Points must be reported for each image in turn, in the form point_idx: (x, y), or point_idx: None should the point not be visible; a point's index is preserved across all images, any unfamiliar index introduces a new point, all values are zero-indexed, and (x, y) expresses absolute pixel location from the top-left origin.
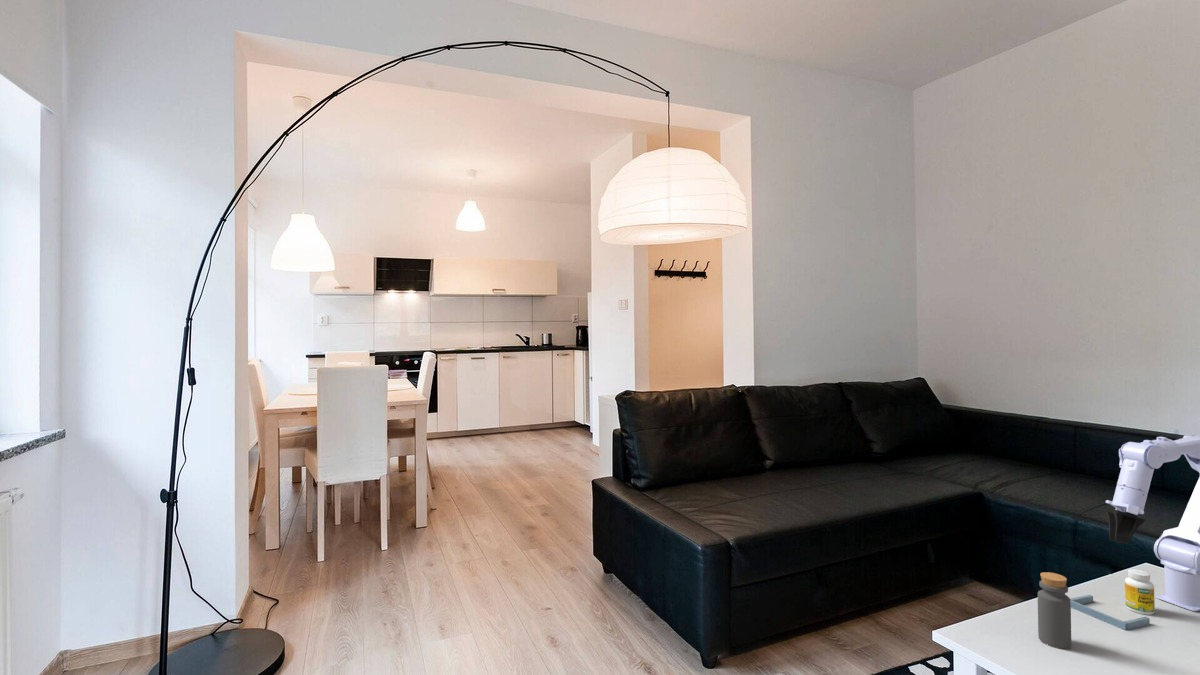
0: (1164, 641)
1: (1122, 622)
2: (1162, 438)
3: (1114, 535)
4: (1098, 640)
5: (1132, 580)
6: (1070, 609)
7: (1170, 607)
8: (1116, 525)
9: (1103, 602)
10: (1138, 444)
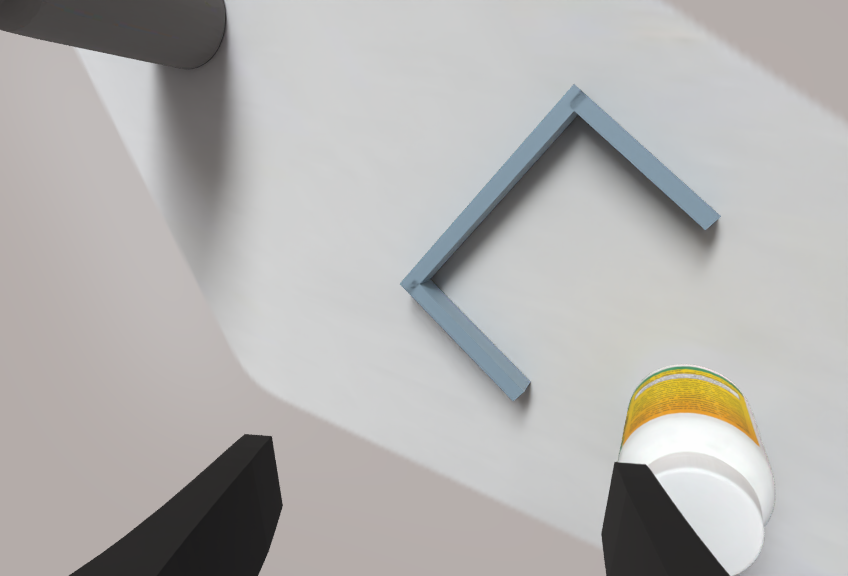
0: (382, 380)
1: (407, 277)
2: None
3: (630, 544)
4: (275, 164)
5: (662, 452)
6: (45, 40)
7: (806, 572)
8: (132, 555)
9: (721, 276)
10: None
